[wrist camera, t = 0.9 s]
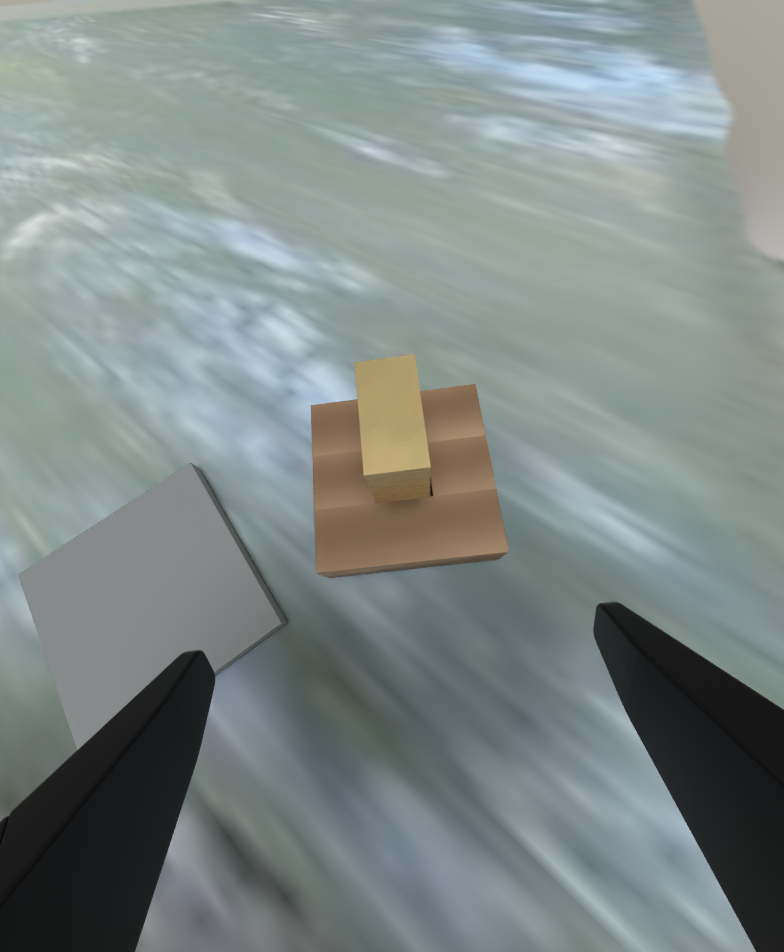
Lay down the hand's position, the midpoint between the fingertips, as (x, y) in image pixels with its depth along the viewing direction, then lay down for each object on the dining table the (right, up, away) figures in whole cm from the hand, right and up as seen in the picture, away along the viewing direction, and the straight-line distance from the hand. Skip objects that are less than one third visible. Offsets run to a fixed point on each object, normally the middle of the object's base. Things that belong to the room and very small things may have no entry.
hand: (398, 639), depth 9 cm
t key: (+1, +3, +16) cm, 16 cm away
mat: (-15, -4, +15) cm, 21 cm away
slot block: (+1, +3, +16) cm, 16 cm away
